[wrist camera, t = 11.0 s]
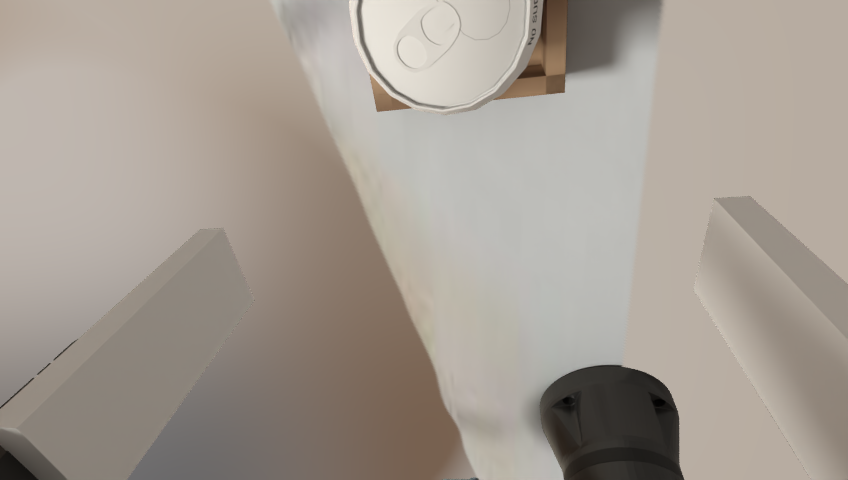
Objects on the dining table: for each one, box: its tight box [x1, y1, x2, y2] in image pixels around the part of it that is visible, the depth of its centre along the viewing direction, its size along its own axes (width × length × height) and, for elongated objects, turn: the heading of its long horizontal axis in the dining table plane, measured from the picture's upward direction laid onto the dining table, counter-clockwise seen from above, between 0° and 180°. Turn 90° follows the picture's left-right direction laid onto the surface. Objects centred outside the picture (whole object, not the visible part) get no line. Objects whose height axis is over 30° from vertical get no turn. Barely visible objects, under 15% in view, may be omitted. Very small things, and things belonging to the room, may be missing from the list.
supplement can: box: [349, 0, 543, 115], centre depth 23 cm, size 8×8×15 cm
